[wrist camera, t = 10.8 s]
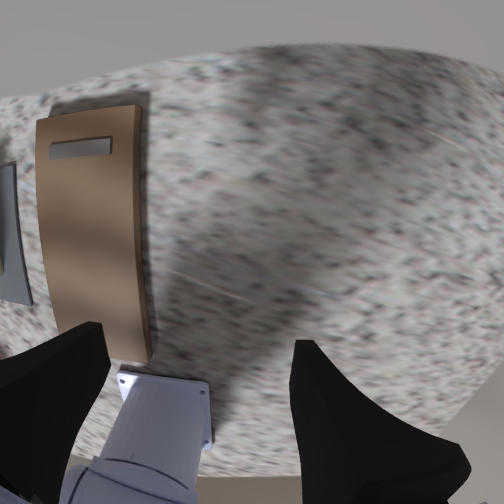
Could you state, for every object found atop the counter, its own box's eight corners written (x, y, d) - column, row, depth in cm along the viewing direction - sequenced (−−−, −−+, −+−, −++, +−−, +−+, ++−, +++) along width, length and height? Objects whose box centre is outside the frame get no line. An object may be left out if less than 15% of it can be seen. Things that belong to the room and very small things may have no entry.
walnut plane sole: (152, 354, 22) (147, 365, 21) (69, 340, 22) (62, 348, 21) (142, 107, 17) (133, 104, 15) (46, 120, 17) (34, 119, 15)
